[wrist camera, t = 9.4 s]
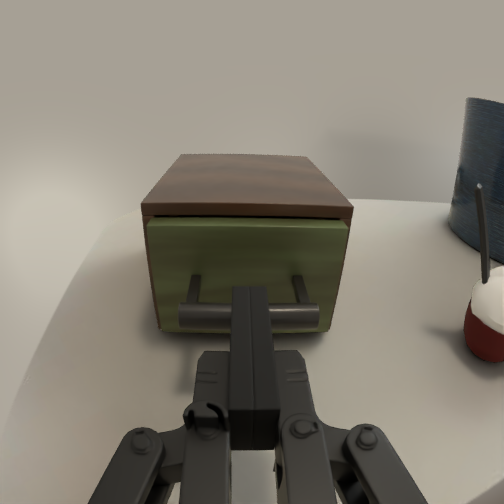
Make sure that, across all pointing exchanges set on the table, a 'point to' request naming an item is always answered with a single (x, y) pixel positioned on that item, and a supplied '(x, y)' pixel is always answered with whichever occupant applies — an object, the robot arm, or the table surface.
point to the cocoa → (486, 299)
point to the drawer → (245, 269)
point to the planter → (480, 175)
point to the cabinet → (244, 192)
